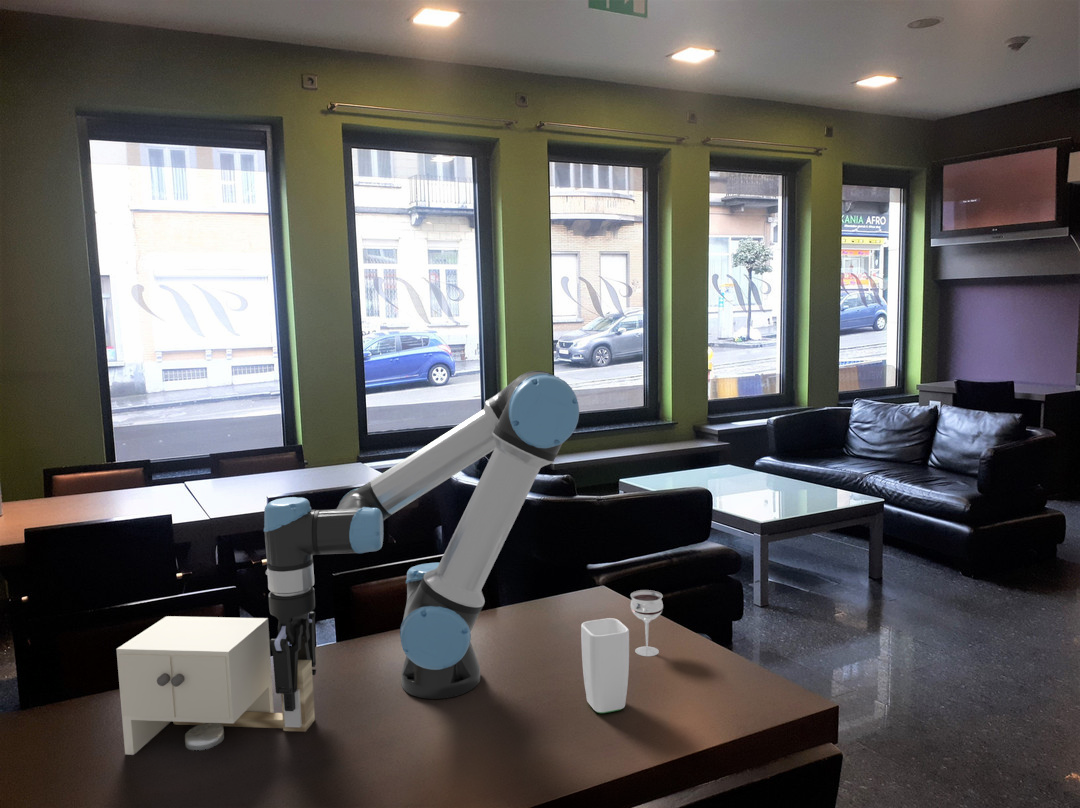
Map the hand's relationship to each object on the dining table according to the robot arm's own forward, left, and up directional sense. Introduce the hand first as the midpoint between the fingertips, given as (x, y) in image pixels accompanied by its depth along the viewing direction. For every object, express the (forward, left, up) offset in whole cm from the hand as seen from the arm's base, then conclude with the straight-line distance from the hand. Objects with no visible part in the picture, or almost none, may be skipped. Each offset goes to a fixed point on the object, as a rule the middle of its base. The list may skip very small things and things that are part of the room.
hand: (299, 718), depth 137 cm
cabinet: (+15, +4, -1) cm, 16 cm away
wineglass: (-61, -34, -1) cm, 70 cm away
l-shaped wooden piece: (+10, 0, -1) cm, 10 cm away
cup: (-53, -10, -1) cm, 54 cm away
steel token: (+14, +6, -1) cm, 15 cm away
